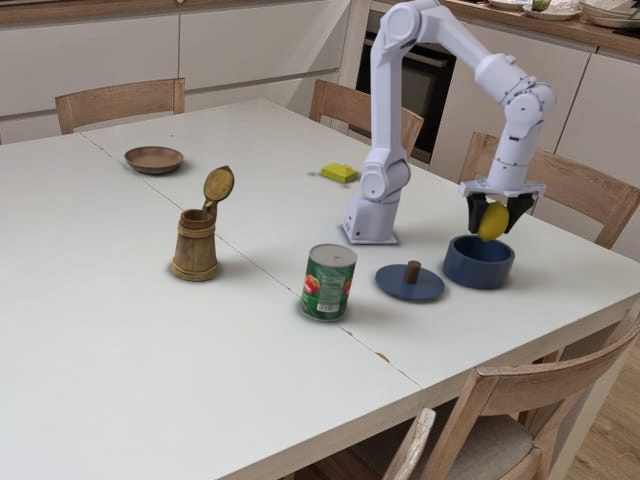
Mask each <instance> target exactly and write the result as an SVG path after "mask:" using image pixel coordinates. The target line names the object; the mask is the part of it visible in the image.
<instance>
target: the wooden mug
mask: <svg viewBox="0 0 640 480" xmlns="http://www.w3.org/2000/svg"><path fill="white" fill-rule="evenodd" d="M235 181H236V180H235V174H234V172H233V171H232V169H231V167H230V166H229V165H228V164H225V165H222V166H219V167H217V168H215V169H213V170H211V171H210V172H209V174H208V175H207V176H206V178H205V180H204V184H203V189H202V192H203V196H204V198H205V200H204V203H203V205H202V207H201V209H198V208H188V209H185V210H184V211H182V212H181V213H180V216H179V217H180V218H179V220H178V221H177V237H176V246H175V251H174V256H173V257H172V261H171V267H170V269H171V272H172V273H173V274H174V276H176V277H178V278H180V279H182V280H185V281H192V282H193V281H194V282H199V281H207V280H210V279H212V278H213V277H215V276H216V275H217V274H218V272H219V261H218V257H217V251H216V237H215V236H216V234H215V232H216V229H217V227H216V223H217V218H218V205H219V203H220V202H222V201H224V200H226V199H227V198H229V196H230V195H231V193H232V192H233V189H234V186H235Z"/></svg>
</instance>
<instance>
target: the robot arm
mask: <svg viewBox="0 0 640 480" xmlns="http://www.w3.org/2000/svg"><path fill="white" fill-rule="evenodd" d="M379 21H380V22H379V23H380V25H379V27H380V28H379V29H378V32H377V35H376V37H375V39H374V42H373V44H372V47H371V49H370V101H371V102H370V117H371V118H370V119H371V121H370V123H371V125H370V126H371V150H370V151H369V153H368V155H367V156H366V158H365V160H364V162H363V172H362V175H361V177H360V180H359V188H360V191H361V193H359V194H358V193H357V194H353V195H351V196H350V197H349V199H348V203H347V208H346V213H345V217H344V223H343V225H342V229H343V230H344V232H345V234H346V236H347V238H348V240H349V242H350V243H351V244H352V245H380V244H381V245H396V244H397V243H398V241H397V240H398V239H396V238H395V236H394V234H393V229H394V226H395V225H394V224H395V221H396V216H397V213H398V208H399V204H400V200H401V196H402V190H403V188H404V187H406V186H407V185H408V184H409V182H410V181H411V178H412V169H411V166H410V164H409V161H408V152H407V151H406V149H405V148H404V147H403V145H402V83H403V82H402V81H403V79H402V77H403V76H402V75H403V74H402V73H403V72H402V71H403V70H402V66H403V65H402V63H403V58H404V56H405V55H407V53H409V51H410V50H411V49H412V48H413V47H415V45H416V44H417V43H419V44H420V43H423V44H425V43H426V44H439V45H441V46H442V47H443V48H444V49H446V50H448V52H450V54H452V55H453V56H455V57H456V58H457V59H459V60H460V61H461V62H462V63H464V64H465V65H466V66H467V67H469V68H470V69H471V70H472V71H473V72H474V83H475V84H476V85H477V86H478V87H479V88H480V89H481V90H482V91H483V92H485V93H486V94H487V95H488V96H489V97H490V98H491V99H492V100H494V101H495V103H497V104H498V105H499V106H500V107H501V108H503V109H504V117H505V119H506V122H505V126H504V128H503V131H502V133H501V136H500V139H499V142H498V145H497V149H496V152H495V154H494V157H493V159H492V160H493V161H492V163H491V167H490V169H489V172H488V176H487V178H483V179H477V180H469V181H461V182H460V185H459V189H458V191H457V192H458V193H459V195H460V196H462V198H465V199H466V203H467V209H468V223H467V224H468V225H467V230H468V232H469V233H470V235H477V234H476V233H477V231H478V228H479V225H480V222H481V219H482V217H483V215H484V213H485V211H486V210H487V208H488V207H489V205H490V204H489V203H490V202H489V201H488V200H487V198H488V197H486V196H505V197H507V200H506V205H505V206H506V208H507V209H508V212H509V221H508V225H507V228H506V230H505V231H504V233H503V234H504V235H508V234H509V233H510V232H511V230H512V229H513V228H514V226H515V225H516V223H517V222H518V221H519V219H520V218H521V217H522V216H523V215H524V214H525V213H526V212H527V211H529V210H530V209H531V208H533V207H534V205H535V202H536V200H535V199H534V197H533V196H536V197H538V198H540V197H544V194H545V192H546V190H547V185H545V183H543V182H542V181H532V180H525V179H526V176H527V173H528V170H529V168H530V165H531V162H532V159H533V157H534V154H535V151H536V149H537V146H538V143H539V140H540V138H541V133H542V130H543V127H544V125H545V122H546V120H545V118H547V117H548V116H549V115H550V114H551V113H552V112H553V111H554V109H555V107H556V106H557V105H556V104H557V95H556V92H555V91H554V89H553V87H552V86H551V84H549V83H547V82H543V81H541V82H540V81H539V82H538V78H537V77H536V76H535V75H532V76H530V75H529V74H528V73H527V72H526V71H524V70H523V69H522V68H521V67H520V66H519V65H518V64H516V63H515V62H516V61H517V58H516V57H515V56H514V55H513V54H509V55H506V54H505V53H502V52H501V53H494V54H493V53H492V52H490V51H489V50H488V49H487V48H486V47H485V46H484V45H483V44H482V43H481V42H480V41H479V40H478V39H477V38H476V37H475V36H474V35H473V34H472V33H471V32H470V31H469V30H468V29H467V28H466V27H465V26H464V25H463V24H462V23H461V22H460V21H459V20H458V19H457V18H456V17H455V15H454V14H453V12H452V11H451V10H450V8H449V7H447V6H446V5H444V4H441V3H440V1H439V0H410V1H406V2H404V1H403V2H399V3H396V4H394V5H393V6H392V7H391V8H390V9H389V10H388V11H387V12H386V13H384V15H383V16H382V17H381V18H380V19H379Z"/></svg>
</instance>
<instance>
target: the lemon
mask: <svg viewBox="0 0 640 480" xmlns="http://www.w3.org/2000/svg"><path fill="white" fill-rule="evenodd" d="M488 203H489V204H490V205H489V207H488V208H487V210H486V211H485V213H484V215H483V217H482V219H481V222H480V225H479V228H478V231H477V233H476V234H475V235H477V236H478V237H480V238H481V239H482V240H483V241H484V242H487V241H489V240H494V239H496V240H497V239H498V238H500V237H501V236H502V235H503V234H504V231H505V230H506V228H507V225H508V221H509V212H508V209H507V208H506V205H505V204H504V203H502V202H501V201H500V200H496V201H491V202H488Z"/></svg>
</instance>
